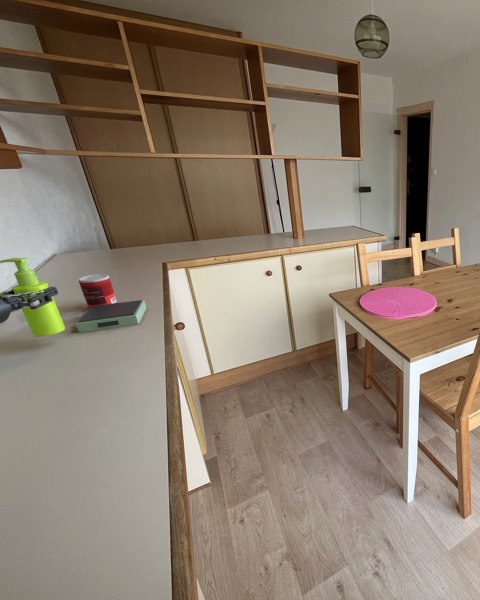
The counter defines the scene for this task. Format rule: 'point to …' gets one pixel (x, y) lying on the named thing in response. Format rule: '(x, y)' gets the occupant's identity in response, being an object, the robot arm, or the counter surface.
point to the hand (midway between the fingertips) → (41, 290)
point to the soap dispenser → (43, 317)
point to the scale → (111, 316)
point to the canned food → (97, 290)
